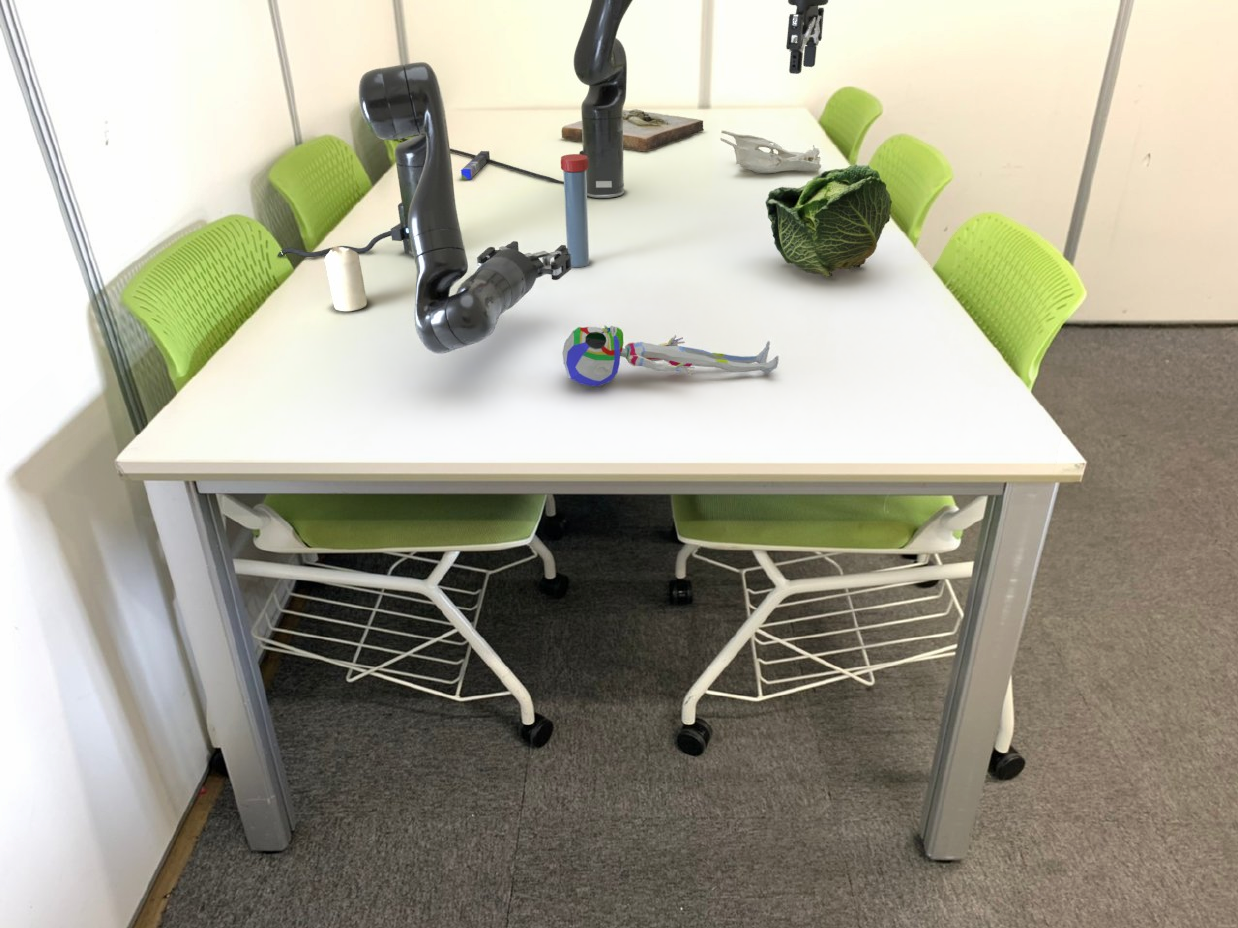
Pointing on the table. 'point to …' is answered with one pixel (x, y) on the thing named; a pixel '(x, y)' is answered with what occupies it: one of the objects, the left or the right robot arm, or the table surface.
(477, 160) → the pillar
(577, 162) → the lid
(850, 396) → the table surface
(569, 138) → the plaque
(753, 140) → the anatomical model
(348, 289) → the candle
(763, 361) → the toy
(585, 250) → the blue cylindrical tube
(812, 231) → the vegetable
